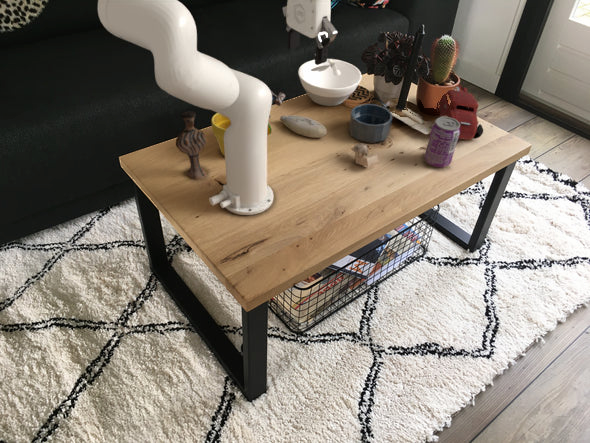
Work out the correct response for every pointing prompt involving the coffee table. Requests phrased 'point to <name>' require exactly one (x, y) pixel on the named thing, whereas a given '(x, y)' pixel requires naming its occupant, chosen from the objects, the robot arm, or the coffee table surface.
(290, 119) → the decorative stone
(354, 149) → the toy character
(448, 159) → the beverage can
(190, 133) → the brown ridged tall piece
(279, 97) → the pirate figurine
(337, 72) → the fairy figurine
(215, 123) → the flower pot
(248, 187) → the robot arm
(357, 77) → the bowl
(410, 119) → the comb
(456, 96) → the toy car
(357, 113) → the dark blue cup
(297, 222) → the coffee table surface
